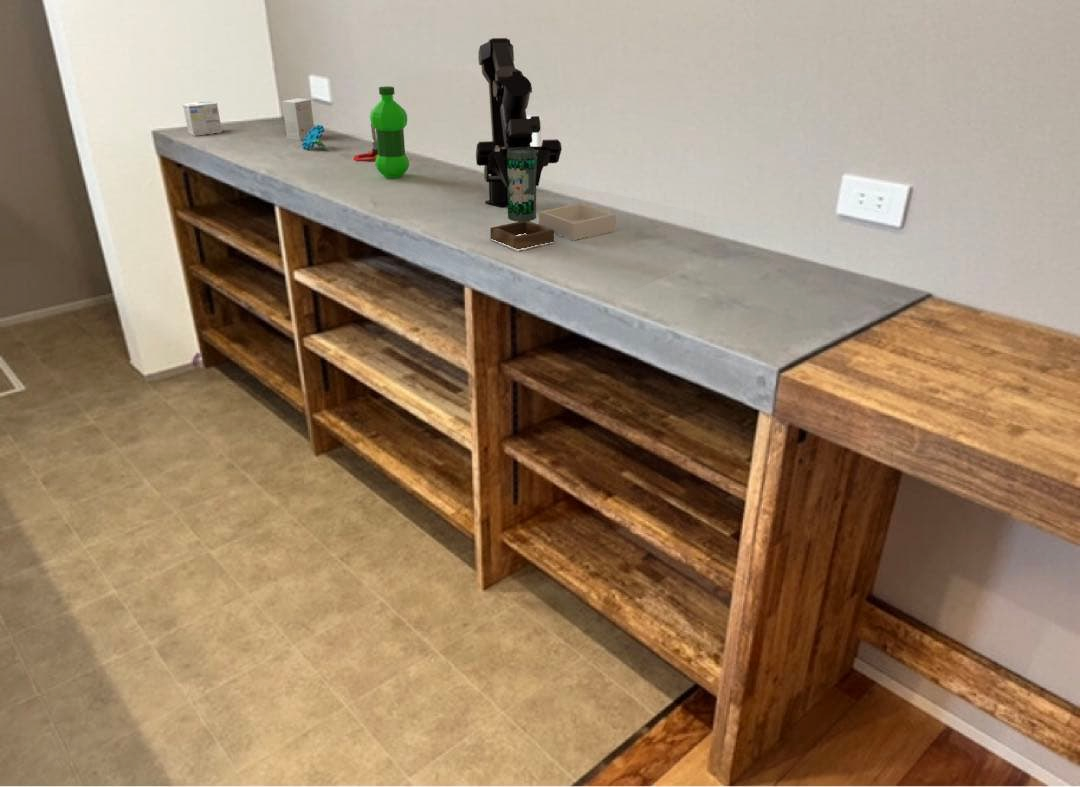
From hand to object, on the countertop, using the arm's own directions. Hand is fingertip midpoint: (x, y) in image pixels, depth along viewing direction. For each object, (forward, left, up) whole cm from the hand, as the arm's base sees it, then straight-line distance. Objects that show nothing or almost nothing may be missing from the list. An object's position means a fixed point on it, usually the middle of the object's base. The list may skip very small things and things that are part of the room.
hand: (522, 185), depth 183 cm
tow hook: (-98, +32, -13) cm, 104 cm away
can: (-1, +1, -8) cm, 8 cm away
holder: (-1, +1, -13) cm, 13 cm away
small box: (-143, +37, -13) cm, 148 cm away
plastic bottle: (-73, +22, -13) cm, 77 cm away
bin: (+2, +17, -13) cm, 21 cm away
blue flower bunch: (-124, +29, -13) cm, 128 cm away
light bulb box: (-176, +18, -13) cm, 177 cm away
